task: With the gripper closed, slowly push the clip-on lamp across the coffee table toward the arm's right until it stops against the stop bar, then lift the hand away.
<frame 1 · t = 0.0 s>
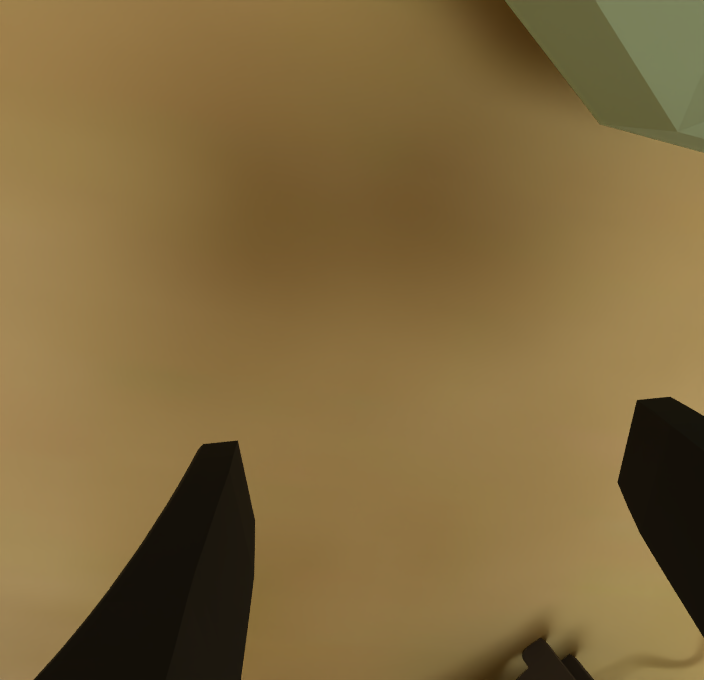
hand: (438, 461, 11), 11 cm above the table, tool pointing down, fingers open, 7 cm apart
clip-on lamp: (628, 679, 30), on the table
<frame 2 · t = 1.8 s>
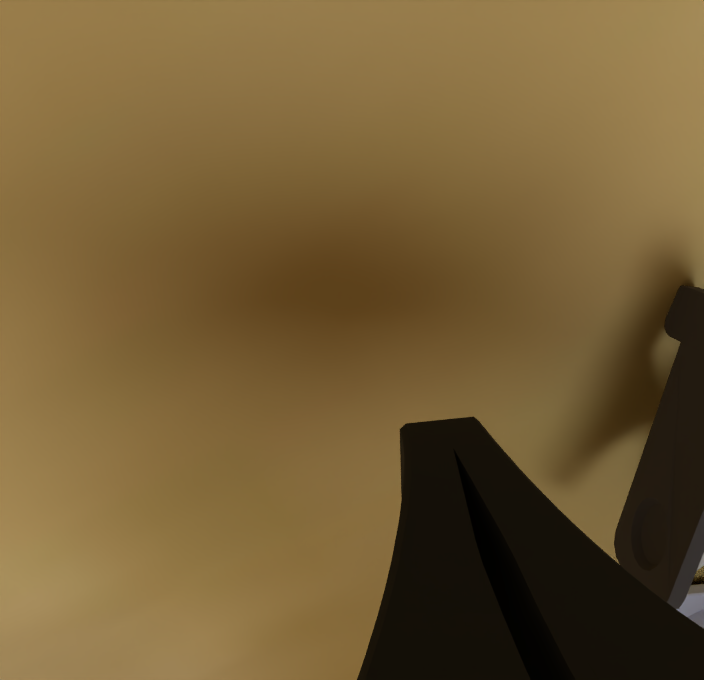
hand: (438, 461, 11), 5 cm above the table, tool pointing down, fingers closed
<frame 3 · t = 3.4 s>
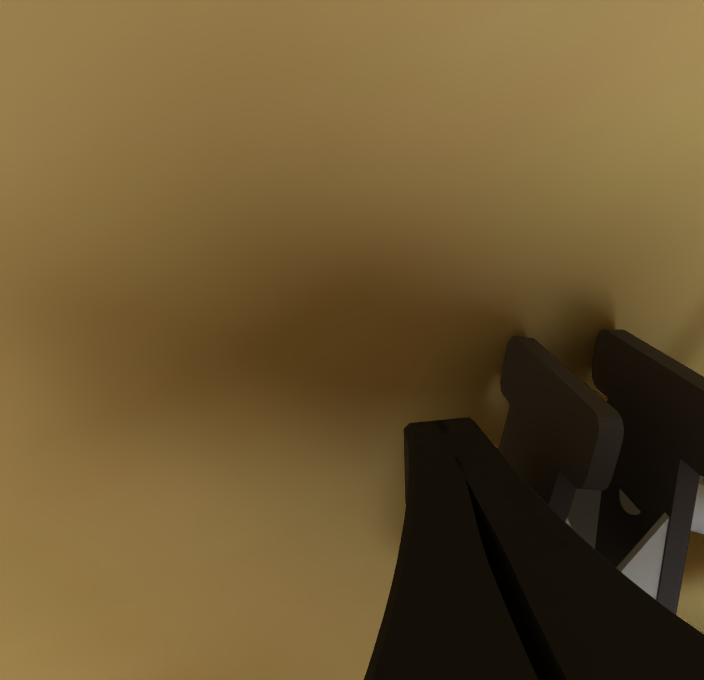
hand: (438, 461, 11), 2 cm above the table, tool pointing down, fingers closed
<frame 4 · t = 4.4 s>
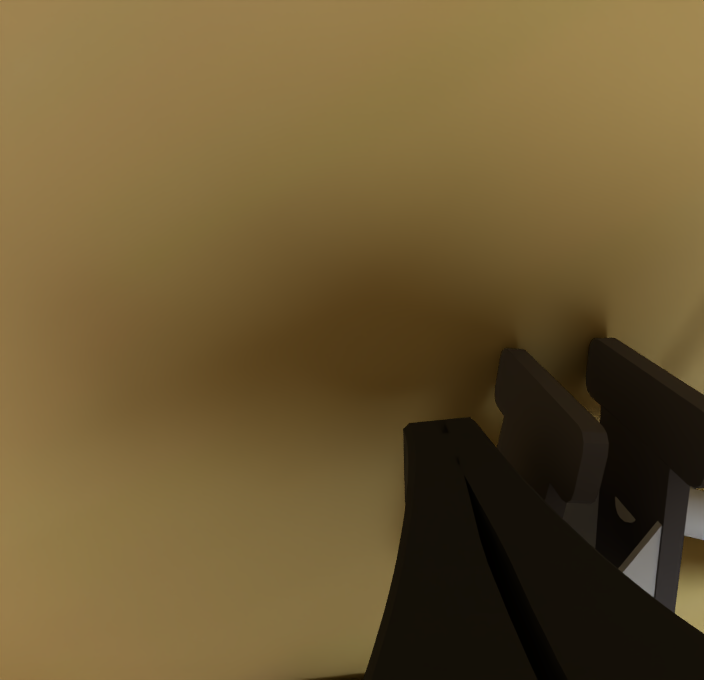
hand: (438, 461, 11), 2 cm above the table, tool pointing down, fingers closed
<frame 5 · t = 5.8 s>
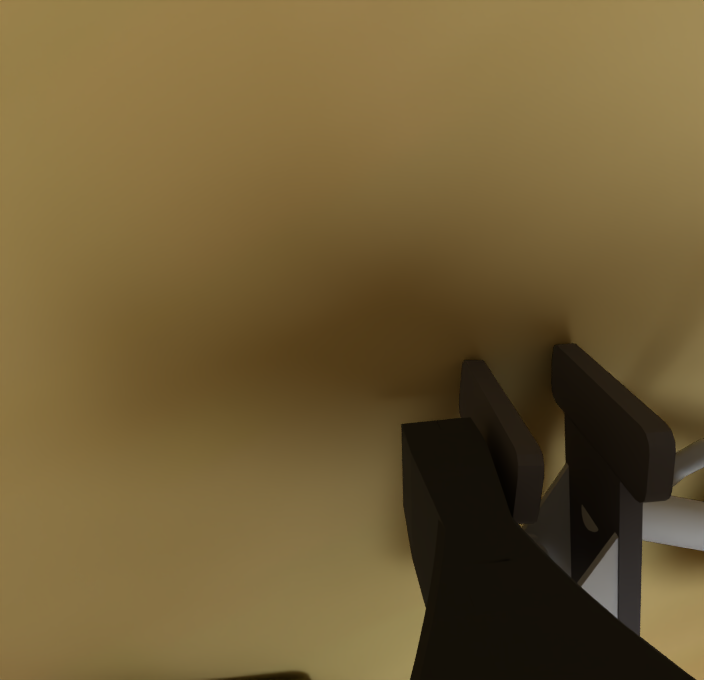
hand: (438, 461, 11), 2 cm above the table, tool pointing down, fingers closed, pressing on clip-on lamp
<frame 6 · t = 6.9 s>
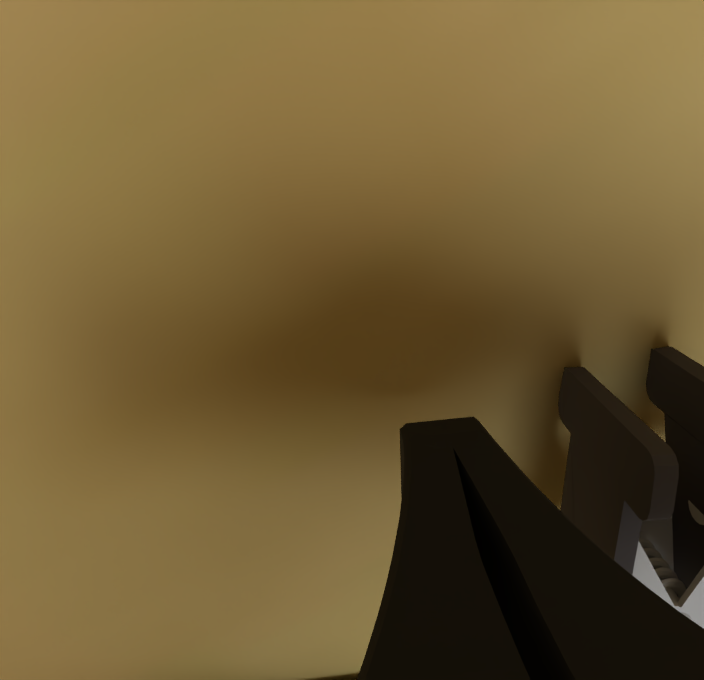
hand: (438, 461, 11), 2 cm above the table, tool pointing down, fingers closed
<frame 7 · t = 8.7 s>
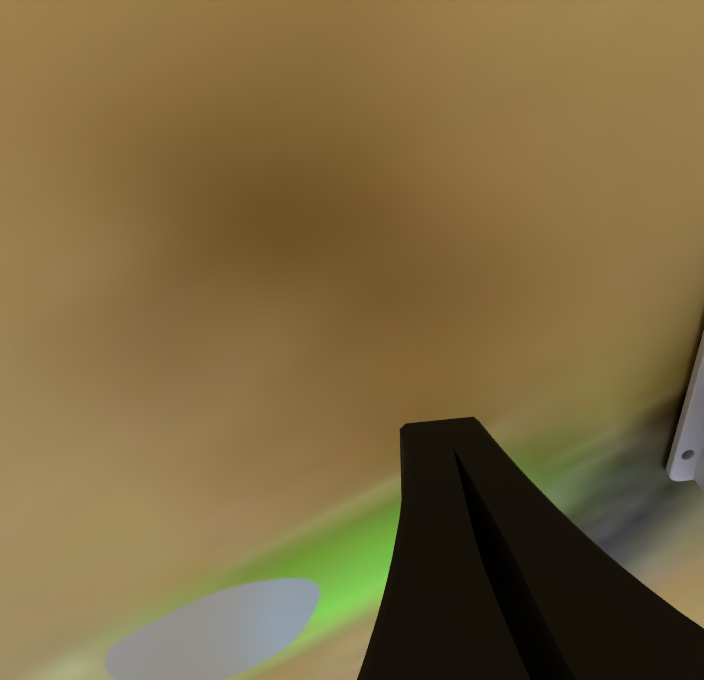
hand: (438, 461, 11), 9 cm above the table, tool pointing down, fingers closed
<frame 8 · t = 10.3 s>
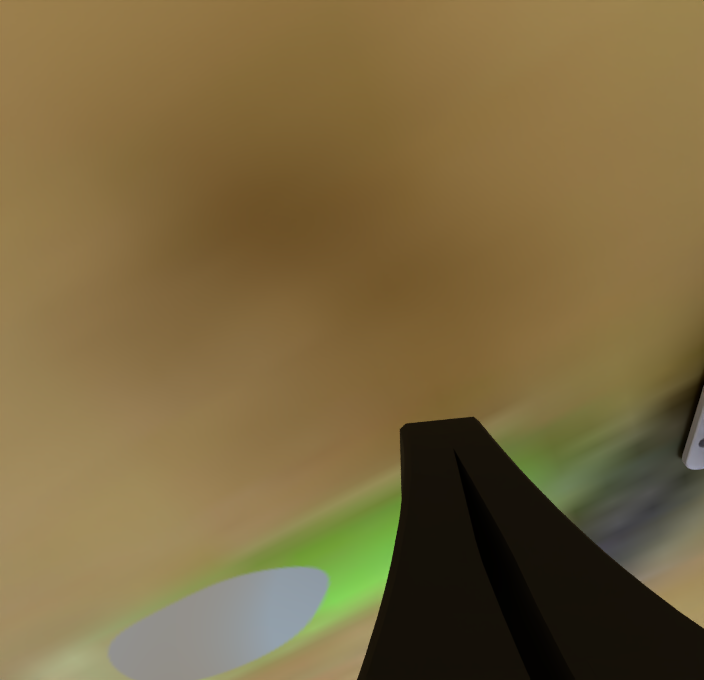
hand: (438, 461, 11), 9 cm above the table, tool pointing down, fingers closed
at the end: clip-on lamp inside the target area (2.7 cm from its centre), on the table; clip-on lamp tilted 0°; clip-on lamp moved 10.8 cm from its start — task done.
